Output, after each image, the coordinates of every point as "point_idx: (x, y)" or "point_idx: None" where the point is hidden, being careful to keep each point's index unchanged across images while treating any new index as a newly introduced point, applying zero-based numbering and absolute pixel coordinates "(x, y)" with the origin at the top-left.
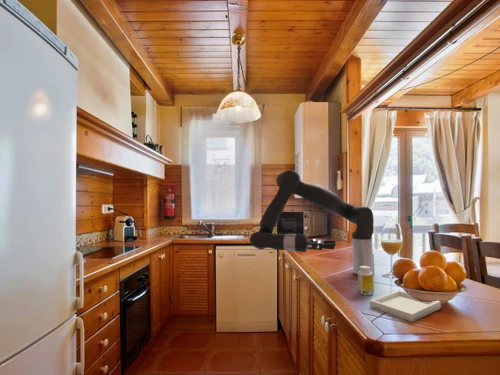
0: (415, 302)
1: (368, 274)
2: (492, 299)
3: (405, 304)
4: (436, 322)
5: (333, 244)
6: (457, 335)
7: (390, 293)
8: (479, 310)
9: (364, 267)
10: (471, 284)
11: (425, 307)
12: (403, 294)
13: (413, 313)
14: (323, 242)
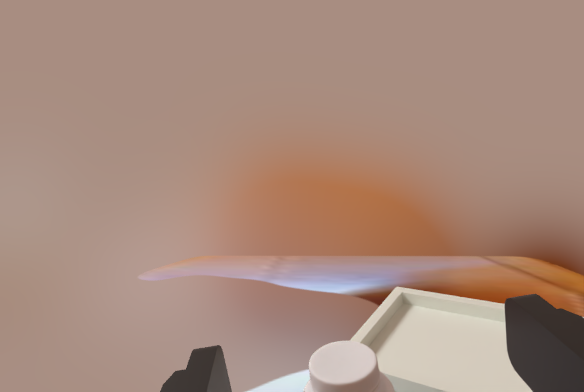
0: (410, 334)
1: (384, 375)
2: (275, 257)
3: (455, 351)
4: None
5: (533, 301)
6: (578, 284)
7: (399, 375)
8: (366, 267)
9: (364, 358)
10: (162, 275)
11: (485, 302)
12: None
13: None
14: None
